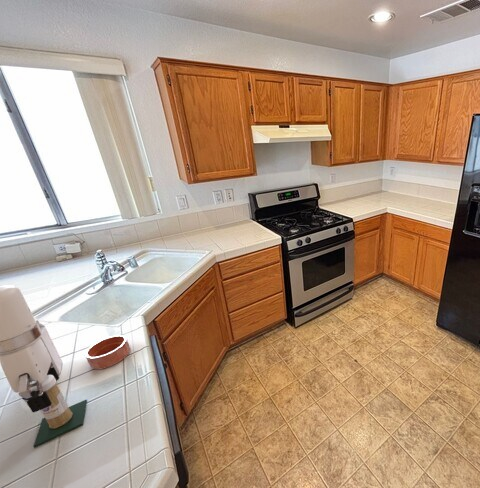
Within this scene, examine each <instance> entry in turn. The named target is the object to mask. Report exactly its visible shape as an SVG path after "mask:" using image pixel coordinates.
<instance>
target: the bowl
mask: <svg viewBox="0 0 480 488" xmlns="http://www.w3.org/2000/svg"><path fill="white" fill-rule="evenodd" d="M130 352H131V346H130V343H129V340H128V338H127V337H126V336H125V335H123V334H119V335H118V334H115V335H112V336H108V337H105V338H103V339H100V340H99V341H97V342H95V343H94V344H92V345H91V346H89V347H88V348H87V350H86V351H85V353H84V357H85V359H86V361H87V363H88V365H89V367H90V368H91V369H92V370H101V369H102V370H103V369H105V368H109V367H112V366H114V365H116V364H117V363H120V362H121V361H122V360H124V359H125V358H126V357H127V356H128V355H129V354H130Z"/></svg>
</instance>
